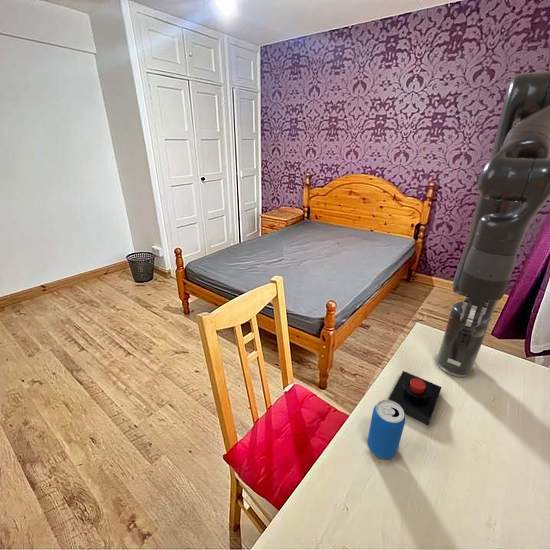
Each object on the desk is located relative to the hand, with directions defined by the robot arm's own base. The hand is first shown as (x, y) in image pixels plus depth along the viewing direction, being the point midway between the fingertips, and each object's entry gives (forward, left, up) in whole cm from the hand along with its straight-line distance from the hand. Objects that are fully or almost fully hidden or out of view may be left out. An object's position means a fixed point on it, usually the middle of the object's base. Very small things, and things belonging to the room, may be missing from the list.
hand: (462, 343), depth 65 cm
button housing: (-2, -6, -23) cm, 24 cm away
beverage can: (+16, -8, -24) cm, 30 cm away
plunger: (-2, -6, -19) cm, 20 cm away
